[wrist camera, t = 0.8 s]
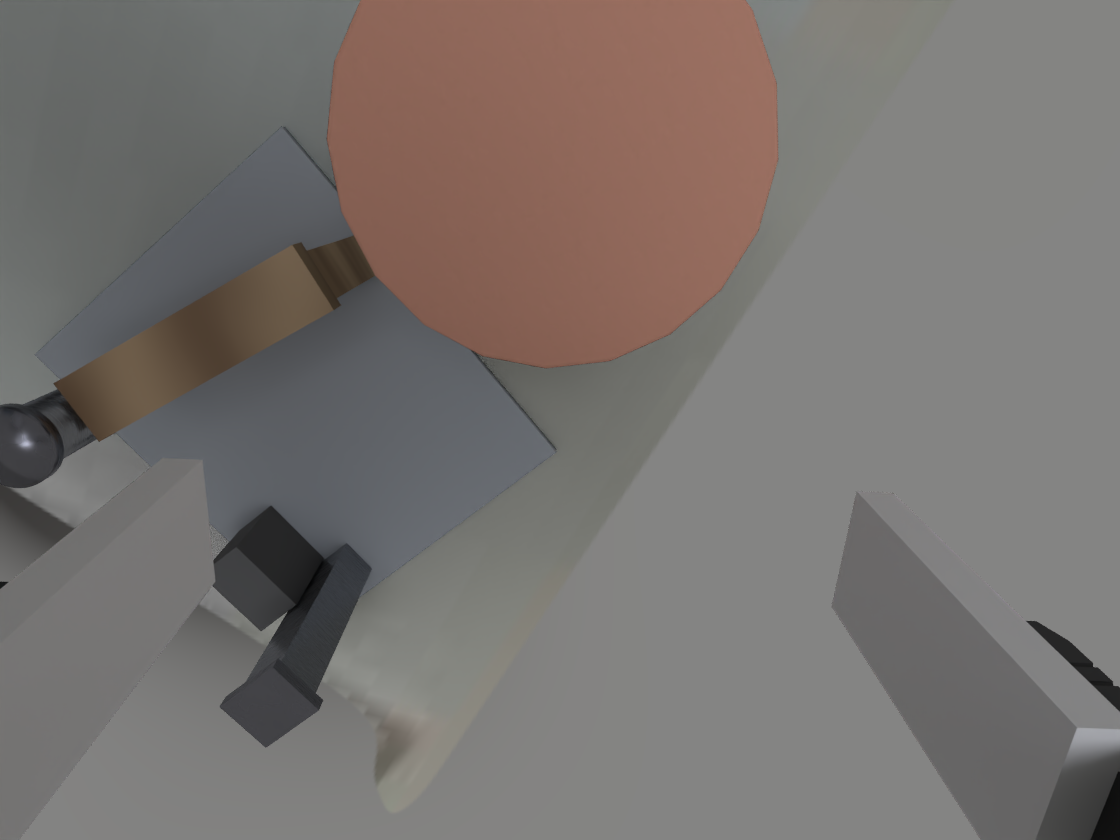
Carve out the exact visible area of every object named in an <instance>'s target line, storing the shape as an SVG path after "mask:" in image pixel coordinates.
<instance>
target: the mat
mask: <svg viewBox="0 0 1120 840" xmlns="http://www.w3.org/2000/svg"><path fill="white" fill-rule="evenodd" d="M351 236H354V235H353V233H352V231H351V229H350V227H349V225H348V223H347V222H346V220H345V218H344V216H343V214H342V212H341V207H340V202H339V197H338V192H337V188H336V187H335V186H334V185H333V184H332V183H331V181H330V180H329V179H328V178H327V177H326V175H325V174H324V173H323V172H322V171H321V169H320V168H319V167H318V166H317V165H316V164H315V162H314V161H313V160H312V159H311V158H310V156H309V155H308V154H307V153H306V152H305V150H304V149H303V148H302V147H301V146H300V145H299V143H298V142H297V141H296V140H295V139H294V137H293V136H292V135H291V134H290V133H289V131H288V130H287V129H286V128H285V127H282V126H281V127H280V128H279V129H278V130H277V131H276V132H275V133H274V134H273V135H272V136H271V137H269V138H268V139H267V140H266V141H265V142H264V143H263V144H262V145H261V146H260V147H259V148H258V149H257V150H255V151H254V152H253V153H252V154H251V155H250V156H249V157H248V158H247V159H246V160H245V161H244V162H242V163H241V164H240V165H239V166H238V167H237V168H236V169H235V170H234V171H233V172H232V173H231V174H229V175H228V176H227V177H226V178H225V179H224V180H223V181H222V182H221V183H220V184H219V185H218V186H216V187H215V188H214V189H213V190H212V191H211V192H210V193H209V194H208V195H207V196H206V197H205V198H203V199H202V200H201V201H200V202H199V203H198V204H197V205H196V206H195V207H194V208H193V209H192V210H191V211H189V212H188V213H187V214H186V215H185V216H184V217H183V218H182V219H181V220H180V221H179V222H178V223H176V224H175V225H174V226H173V227H172V228H171V229H170V230H169V231H168V232H167V233H166V234H165V235H163V236H162V237H161V238H160V239H159V240H158V241H157V242H156V243H155V244H154V245H153V246H152V247H150V248H149V249H148V250H147V251H146V252H145V253H144V254H143V255H142V256H141V257H140V258H139V259H137V260H136V261H135V262H134V263H133V264H132V265H131V266H130V267H129V268H128V269H127V270H126V271H125V272H123V273H122V274H121V275H120V276H119V277H118V278H117V279H116V280H115V281H114V282H113V283H112V284H110V285H109V286H108V287H107V288H106V289H105V290H104V291H103V292H102V293H101V294H100V295H99V296H97V297H96V298H95V299H94V300H93V301H92V302H91V303H90V304H89V305H88V306H87V307H86V308H84V309H83V310H82V311H81V312H80V313H79V314H78V315H77V316H76V317H75V318H74V319H73V320H71V321H70V322H69V323H68V324H67V325H66V326H65V327H64V328H63V329H62V330H61V331H60V332H59V333H57V334H56V335H55V336H54V337H53V338H52V339H51V340H50V341H49V342H48V343H47V344H46V345H44V346H43V347H42V348H41V349H40V350H39V351H38V352H37V353H36V354H35V356H36V357H37V358H39V359H40V360H41V361H42V362H43V363H44V364H45V365H46V366H47V367H48V368H49V369H50V370H51V371H52V372H53V373H54V374H55V375H56V376H57V377H58V378H59V379H62V378H64V377H66V376H67V375H69V374H71V373H72V372H74V371H76V370H78V369H79V368H81V367H83V366H84V365H86V364H88V363H90V362H91V361H93V360H95V359H96V358H98V357H100V356H102V355H103V354H105V353H107V352H109V351H110V350H112V349H114V348H115V347H117V346H119V345H121V344H122V343H124V342H126V341H127V340H129V339H131V338H133V337H134V336H136V335H138V334H140V333H141V332H143V331H145V330H146V329H148V328H150V327H152V326H153V325H155V324H157V323H158V322H160V321H162V320H164V319H165V318H167V317H169V316H171V315H172V314H174V313H176V312H177V311H179V310H181V309H183V308H184V307H186V306H188V305H189V304H191V303H193V302H195V301H196V300H198V299H200V298H202V297H203V296H205V295H207V294H208V293H210V292H212V291H214V290H215V289H217V288H219V287H220V286H222V285H224V284H226V283H227V282H229V281H231V280H232V279H234V278H236V277H238V276H239V275H241V274H243V273H245V272H246V271H248V270H250V269H251V268H253V267H255V266H257V265H258V264H260V263H262V262H263V261H265V260H267V259H269V258H270V257H272V256H274V255H276V254H277V253H279V252H281V251H282V250H284V249H286V248H288V247H289V246H291V245H293V244H297V243H300V242H302V244H303V246H304V247H305V249H306V250H310V249H314V248H317V247H320V246H323V245H326V244H329V243H332V242H335V241H339V240H342V239H345V238H348V237H351ZM337 299H338V301H339V303H340V304H341V306H340V307H338V308H336V309H335V310H333V311H331V312H330V313H328V314H326V315H324V316H322V317H321V318H319V319H317V320H315V321H314V322H312V323H310V324H308V325H306V326H305V327H303V328H301V329H299V330H297V331H296V332H294V333H292V334H290V335H289V336H287V337H285V338H283V339H281V340H280V341H278V342H276V343H274V344H273V345H271V346H269V347H267V348H265V349H264V350H262V351H260V352H258V353H256V354H255V355H253V356H251V357H249V358H248V359H246V360H244V361H242V362H240V363H239V364H237V365H235V366H233V367H231V368H230V369H228V370H226V371H224V372H223V373H221V374H219V375H217V376H215V377H214V378H212V379H210V380H208V381H207V382H205V383H203V384H201V385H199V386H198V387H196V388H194V389H192V390H190V391H189V392H187V393H185V394H183V395H182V396H180V397H178V398H176V399H174V400H173V401H171V402H169V403H167V404H166V405H164V406H162V407H160V408H158V409H157V410H155V411H153V412H151V413H149V414H148V415H146V416H144V417H142V418H141V419H139V420H137V421H135V422H133V423H132V424H130V425H128V426H126V427H124V428H123V429H121V430H119V431H117V432H116V433H117V434H118V435H119V436H120V437H121V438H122V439H123V440H124V441H125V442H126V443H127V444H128V445H129V446H130V447H131V448H132V449H133V450H134V451H135V452H136V453H137V454H138V455H139V456H140V457H141V458H143V459H144V460H145V461H146V462H147V463H148V464H149V465H150V466H151V467H152V466H153V465H155V464H156V463H157V462H158V461H160V460H161V459H162V458H174V459H194V460H202V461H203V470H204V479H205V488H206V498H207V507H208V516H209V523H210V524H211V525H212V526H213V527H214V528H215V529H216V530H217V531H218V532H219V533H221V534H222V535H223V536H224V537H225V538H226V539H227V540H228V541H229V542H230V541H231V540H232V538H233V537H234V536H235V535H236V534H237V533H238V531H239V530H241V529H242V528H243V527H244V526H246V525H247V524H248V523H250V522H251V521H252V520H253V519H255V518H256V517H257V516H258V515H260V514H261V513H262V512H263V511H265V510H266V509H267V508H268V507H270V506H272V507H273V508H274V509H275V510H276V511H277V512H278V513H279V514H280V515H281V516H282V517H283V518H284V519H285V520H286V521H287V522H288V523H289V524H290V525H291V526H292V527H293V528H294V529H295V530H296V531H297V532H298V533H299V534H300V535H301V536H302V537H303V538H304V539H305V540H306V541H307V542H308V543H309V544H310V545H311V546H312V547H313V548H314V549H315V550H316V551H317V552H318V553H319V554H320V555H321V556H322V557H323V558H324V559H323V560H322V561H324V560H325V559H326V558H328V557H329V556H330V555H331V554H333V553H334V552H335V551H337V550H338V549H339V548H341V547H342V546H343V545H345V544H346V543H347V544H348V545H349V546H350V547H351V548H352V549H353V550H354V551H355V552H356V553H357V554H358V555H359V556H360V557H361V558H362V559H363V560H364V561H365V562H366V563H367V564H368V565H369V566H370V567H371V568H372V570H371V572H370V574H369V576H368V579H367V581H366V583H365V585H364V587H363V590H362V592H361V594H360V596H359V597H361V596H362V595H364V594H365V593H366V592H368V591H369V590H370V589H372V588H373V587H374V586H376V585H377V584H378V583H380V582H381V581H382V580H384V579H385V578H387V577H388V576H389V575H391V574H392V573H393V572H395V571H396V570H397V569H399V568H400V567H401V566H403V565H404V564H406V563H407V562H408V561H410V560H411V559H412V558H414V557H415V556H416V555H418V554H419V553H420V552H422V551H423V550H425V549H426V548H427V547H429V546H430V545H431V544H433V543H434V542H435V541H437V540H438V539H439V538H441V537H442V536H443V535H445V534H446V533H448V532H449V531H450V530H452V529H453V528H454V527H456V526H457V525H458V524H460V523H461V522H462V521H464V520H465V519H467V518H468V517H469V516H471V515H472V514H473V513H475V512H476V511H477V510H479V509H480V508H481V507H483V506H484V505H485V504H487V503H488V502H490V501H491V500H492V499H494V498H495V497H496V496H498V495H499V494H500V493H502V492H503V491H504V490H506V489H507V488H509V487H510V486H511V485H513V484H514V483H515V482H517V481H518V480H519V479H521V478H522V477H523V476H525V475H526V474H528V473H529V472H530V471H532V470H533V469H534V468H536V467H537V466H538V465H540V464H541V463H542V462H544V461H545V460H546V459H548V458H549V457H551V456H552V455H553V454H555V453H556V449H555V447H554V446H553V445H552V444H551V443H550V441H549V440H548V439H547V438H546V437H545V435H544V434H543V433H542V432H541V431H540V430H539V428H538V427H537V426H536V425H535V424H534V422H533V421H532V420H531V419H530V418H529V416H528V415H527V414H526V413H525V412H524V411H523V409H522V408H521V407H520V406H519V405H518V403H517V402H516V401H515V400H514V399H513V397H512V396H511V395H510V394H509V393H508V392H507V390H506V389H505V388H504V387H503V386H502V384H501V383H500V382H499V381H498V380H497V378H496V377H495V376H494V375H493V374H492V373H491V371H490V370H489V369H488V368H487V367H486V365H485V364H484V363H483V362H482V361H481V359H480V358H479V357H478V356H477V355H476V354H475V352H474V351H472V350H470V349H468V348H466V347H464V346H463V345H461V344H459V343H457V342H455V341H453V340H451V339H450V338H448V337H446V336H444V335H442V334H440V333H438V332H437V331H435V330H433V329H431V328H429V327H427V326H425V325H424V324H423V323H422V322H421V321H420V320H419V319H418V318H417V317H416V316H415V315H414V314H413V313H412V312H411V311H410V310H409V309H408V308H407V307H406V306H405V305H404V304H403V303H402V302H401V301H400V300H399V299H398V298H397V297H396V296H395V295H394V294H393V293H392V292H391V291H390V290H389V289H388V288H387V287H386V286H385V285H384V284H383V283H382V282H381V281H380V280H379V279H378V278H377V277H376V276H374V277H372V278H370V279H369V280H367V281H365V282H364V283H362V284H360V285H358V286H357V287H355V288H353V289H352V290H350V291H348V292H346V293H345V294H343V295H341V296H340V297H338V298H337Z"/></svg>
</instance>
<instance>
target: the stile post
mask: <svg viewBox="0 0 1120 840" xmlns="http://www.w3.org/2000/svg"><path fill="white" fill-rule="evenodd" d="M371 570H372V568H371V567H370V566H369V565H368V564H367V563H366V562H365V561H364V560H363V559H362V558H361V557H360V556H359V555H358V554H357V553H356V552H355V551H354V550H353V549H352V548H351V547H350V546H349V545H348V544H347V543H346V544H345V545H343V546H342V547H341V548H339V549H338V550H337V551H335V552H334V553H333V554H331V555H330V556H329V557H328V558H326V559H325V560H324V561H322V562H321V564H320V565H319V567H318V569H317V571H316V572H315V574H314V576H313V577H312V579H311V581H310V582H309V584H308V586H307V587H306V589H305V591H304V593H303V594H302V596H301V598H300V599H299V601H298V603H297V604H296V605H295V606H294V607H293V608H291V609H290V610H289V611H288V612H287V614H286V616H285V617H284V619H283V621H282V622H281V624H280V626H279V627H278V629H277V631H276V632H275V634H274V636H273V637H272V639H271V641H270V642H269V644H268V646H267V647H266V649H265V651H264V653H263V654H262V656H261V657H260V659H259V661H258V662H257V664H256V666H255V667H254V669H253V671H252V673H251V674H250V676H249V677H248V679H247V681H246V682H245V683H244V684H243V685H241V686H240V687H239V688H237V689H236V690H234V691H233V692H232V693H230V694H229V695H228V696H226V698H225V699H224V700H223V702H222V704H221V705H220V708H221V709H223V710H224V711H225V712H226V713H227V714H228V715H229V716H230V717H232V718H233V719H234V720H235V721H236V722H237V723H238V724H239V725H241V726H242V727H243V728H244V729H245V730H246V731H247V732H249V733H250V734H251V735H252V736H253V737H254V738H255V739H257V740H258V741H259V742H260V743H261V744H262V745H263V746H265V747H268V746H269V745H270V744H272V743H273V742H275V741H276V740H278V739H279V738H280V737H282V736H283V735H285V734H286V733H287V732H289V731H290V730H292V729H293V728H294V727H296V726H297V725H299V724H300V723H301V722H303V721H304V720H306V719H307V718H308V717H310V716H311V715H313V714H314V713H316V712H317V711H318V710H319V709H320V706H321V704H322V702H323V699H321V698H320V697H319V696H318V695H317V694H316V691H317V689H318V686H319V684H320V682H321V680H322V678H323V676H324V673H325V671H326V669H327V667H328V665H329V662H330V660H331V658H332V656H333V654H334V651H335V649H336V647H337V645H338V643H339V640H340V638H341V636H342V634H343V632H344V629H345V627H346V625H347V623H348V621H349V618H350V616H351V614H352V612H353V610H354V607H355V605H356V603H357V601H358V599H359V596H360V594H361V592H362V590H363V587H364V585H365V583H366V581H367V579H368V576H369V574H370V572H371Z"/></svg>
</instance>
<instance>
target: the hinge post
mask: <svg viewBox="0 0 1120 840" xmlns="http://www.w3.org/2000/svg"><path fill="white" fill-rule="evenodd" d="M94 440H96V437H95V436H94V435H93V433H92V432H91V431H90V430H89V428H88V427H87V426H86V424H85V423H84V422H83V421H82V419H81V418H80V417H79V416H78V414H77V413H76V412H75V410H74V409H73V408H72V407H71V405H70V404H69V403H68V401H67V400H66V399H65V398H64V396H63V395H62V394H61V393H60V391H59V390H58V389H57V390H55V391H53V392H50V393H48V394H46V395H44V396H41V397H39V398H37V399H35V400H32V401H30V402H28V403H25V404H23V405H21V404H3V405H0V484H1V485H4V486H8V487H13V488H26V487H31V486H34V485H36V484H38V483H40V482H42V481H43V480H45V479H46V478H48V477H50V476H51V475H53V474H54V473H55V472H56V471H57V470H58V469H59V467H60V465H61V463H62V461H63V459H64V458H65V457H67V456H69V455H70V454H72V453H74V452H76V451H77V450H79V449H81V448H82V447H84V446H86V445H88V444H89V443H91V442H93V441H94Z"/></svg>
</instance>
